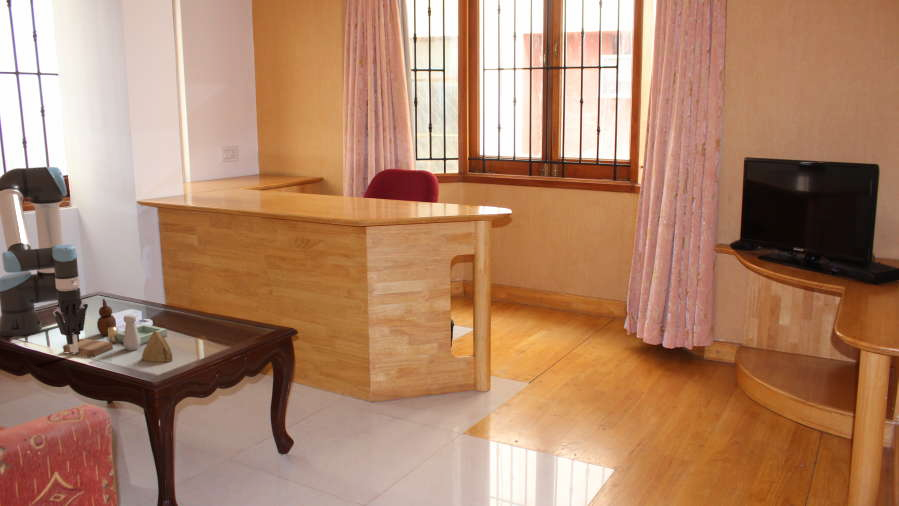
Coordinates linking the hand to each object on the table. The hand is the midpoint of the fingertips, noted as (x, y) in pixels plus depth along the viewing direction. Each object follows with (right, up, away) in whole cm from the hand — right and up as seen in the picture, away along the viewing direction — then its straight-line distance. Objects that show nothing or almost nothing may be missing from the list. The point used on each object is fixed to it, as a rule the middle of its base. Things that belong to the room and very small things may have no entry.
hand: (74, 351), depth 274 cm
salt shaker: (+18, 0, +8) cm, 19 cm away
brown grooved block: (+3, -1, +5) cm, 6 cm away
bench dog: (+8, +1, +14) cm, 16 cm away
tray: (+16, +3, +20) cm, 26 cm away
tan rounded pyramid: (+32, -3, -4) cm, 32 cm away
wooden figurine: (+1, +3, +25) cm, 25 cm away
